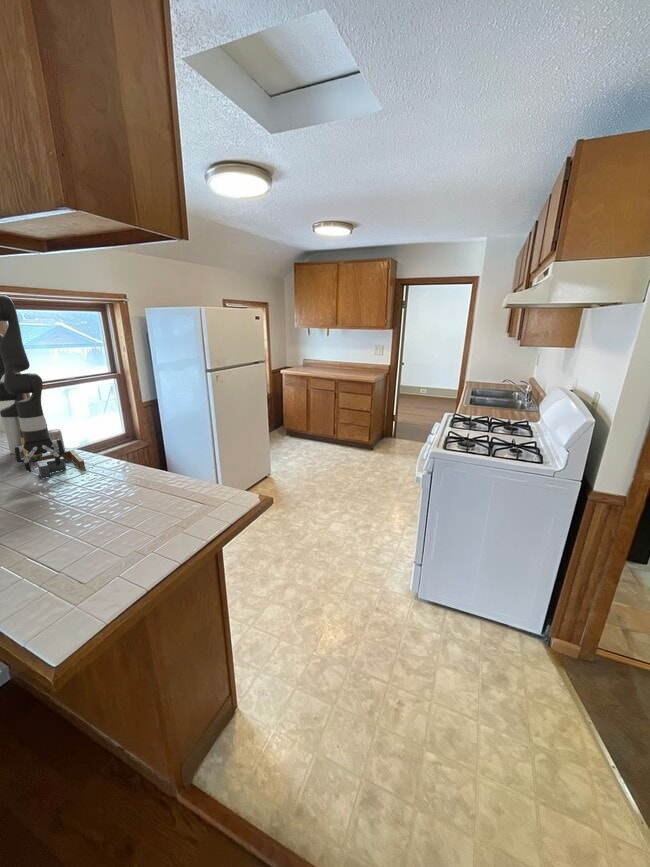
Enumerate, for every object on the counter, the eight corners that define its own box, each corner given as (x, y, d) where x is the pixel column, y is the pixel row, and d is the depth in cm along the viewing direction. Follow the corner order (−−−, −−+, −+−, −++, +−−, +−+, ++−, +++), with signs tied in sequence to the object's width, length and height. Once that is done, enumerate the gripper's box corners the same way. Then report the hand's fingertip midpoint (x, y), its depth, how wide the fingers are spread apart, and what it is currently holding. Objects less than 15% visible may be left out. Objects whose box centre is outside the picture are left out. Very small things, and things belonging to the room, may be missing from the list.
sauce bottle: (32, 462, 147) (21, 417, 141) (21, 460, 148) (10, 416, 143) (47, 457, 153) (37, 414, 147) (37, 456, 154) (27, 412, 149)
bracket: (39, 473, 136) (36, 461, 134) (64, 468, 142) (62, 456, 140) (42, 478, 131) (39, 466, 130) (68, 472, 137) (66, 461, 136)
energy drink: (54, 455, 156) (48, 429, 152) (68, 454, 157) (62, 428, 154) (49, 459, 151) (43, 433, 148) (63, 457, 153) (57, 432, 149)
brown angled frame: (43, 464, 145) (41, 455, 144) (74, 458, 152) (73, 449, 151) (52, 477, 132) (49, 467, 131) (85, 469, 140) (83, 460, 139)
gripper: (56, 422, 135) (64, 461, 140) (7, 429, 125) (18, 470, 130) (59, 426, 130) (68, 466, 135) (10, 433, 120) (21, 476, 125)
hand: (44, 468), depth 132 cm, fingers open, 8 cm apart
